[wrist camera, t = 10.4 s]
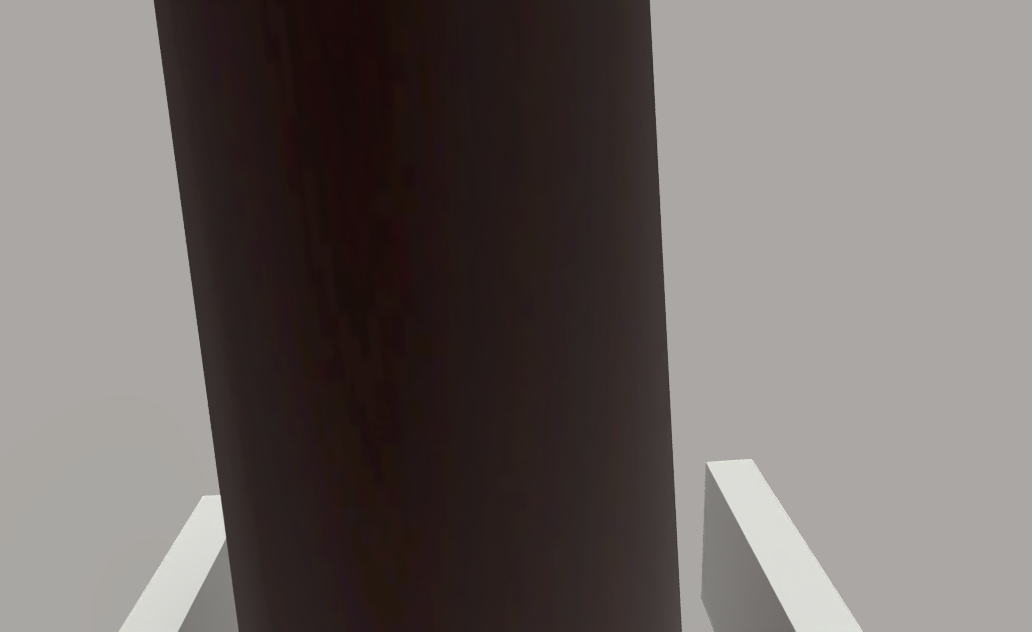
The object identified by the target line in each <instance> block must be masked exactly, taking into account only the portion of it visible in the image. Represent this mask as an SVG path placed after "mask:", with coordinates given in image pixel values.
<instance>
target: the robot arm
mask: <svg viewBox="0 0 1032 632" xmlns="http://www.w3.org/2000/svg"><path fill="white" fill-rule="evenodd" d="M701 598H702V601H703V604H704V606H705V608H706V611H707V614H708V616H709V619H710V621H711V624H712V626H713V629H714V632H863V631H862V629H861V628H860V626H859V625H858V623H857V622H856V620H855V619H854V617H853V615H852V614H851V612H850V611H849V609H848V608H847V606H846V604H845V603H844V601H843V600H842V598H841V597H840V595H839V594H838V592H837V591H836V589H835V588H834V586H833V584H832V583H831V581H830V580H829V578H828V577H827V575H826V573H825V572H824V570H823V569H822V567H821V566H820V564H819V563H818V561H817V560H816V558H815V556H814V555H813V553H812V552H811V551H810V549H809V547H808V546H807V544H806V542H805V541H804V539H803V538H802V536H801V535H800V533H799V532H798V530H797V529H796V527H795V526H794V524H793V522H792V521H791V519H790V518H789V516H788V515H787V513H786V512H785V510H784V508H783V507H782V505H781V504H780V502H779V501H778V499H777V498H776V496H775V495H774V493H773V491H772V490H771V488H770V487H769V485H768V484H767V482H766V481H765V479H764V477H763V476H762V474H761V473H760V471H759V470H758V468H757V467H756V465H755V464H754V462H753V460H752V459H745V460H730V461H715V462H706V476H705V507H704V535H703V563H702V592H701ZM119 632H239V630H238V623H237V615H236V608H235V600H234V593H233V586H232V578H231V571H230V563H229V556H228V548H227V541H226V534H225V526H224V519H223V511H222V504H221V496H220V495H212V496H203V497H202V499H201V500H200V502H199V503H198V505H197V506H196V508H195V510H194V511H193V513H192V515H191V516H190V518H189V519H188V521H187V523H186V524H185V526H184V527H183V529H182V531H181V532H180V534H179V535H178V537H177V539H176V541H175V542H174V544H173V545H172V547H171V548H170V550H169V552H168V553H167V555H166V557H165V558H164V560H163V561H162V563H161V565H160V566H159V568H158V570H157V571H156V573H155V574H154V576H153V577H152V579H151V581H150V582H149V584H148V586H147V587H146V589H145V590H144V592H143V594H142V595H141V597H140V598H139V600H138V602H137V603H136V605H135V607H134V608H133V610H132V612H131V613H130V615H129V616H128V618H127V620H126V621H125V623H124V625H123V626H122V627H121V629H120V631H119Z"/></svg>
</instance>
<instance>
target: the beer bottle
mask: <svg viewBox="0 0 1032 632" xmlns="http://www.w3.org/2000/svg"><path fill="white" fill-rule="evenodd" d="M154 6H155V13H156V20H157V28H158V35H159V43H160V50H161V58H162V65H163V73H164V79H165V87H166V95H167V102H168V109H169V117H170V124H171V132H172V139H173V146H174V154H175V161H176V168H177V176H178V184H179V191H180V199H181V206H182V213H183V221H184V229H185V236H186V243H187V251H188V258H189V266H190V273H191V281H192V287H193V296H194V303H195V310H196V318H197V325H198V333H199V340H200V347H201V355H202V362H203V370H204V377H205V385H206V392H207V399H208V407H209V414H210V422H211V429H212V437H213V443H214V451H215V459H216V466H217V474H218V481H219V488H220V496H221V504H222V511H223V519H224V526H225V534H226V541H227V548H228V556H229V563H230V571H231V578H232V586H233V593H234V600H235V608H236V615H237V623H238V630H239V632H682V628H681V607H680V588H679V568H678V549H677V530H676V529H677V528H676V509H675V489H674V470H673V450H672V430H671V410H670V391H669V372H668V352H667V332H666V312H665V292H664V274H663V255H662V254H663V253H662V236H661V235H662V234H661V215H660V195H659V174H658V156H657V135H656V116H655V96H654V76H653V56H652V38H651V37H652V36H651V16H650V0H154Z"/></svg>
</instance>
